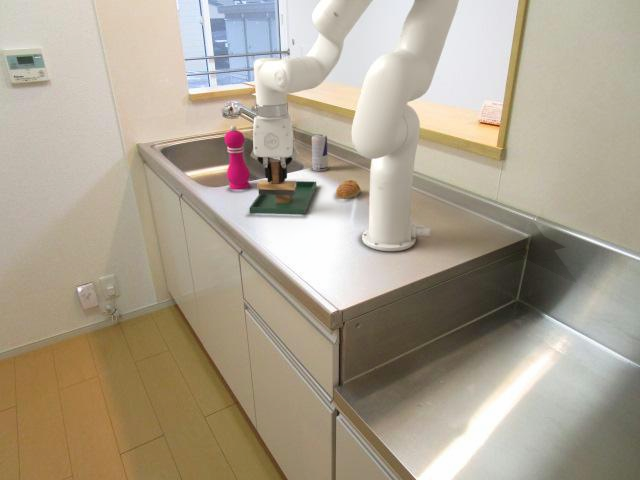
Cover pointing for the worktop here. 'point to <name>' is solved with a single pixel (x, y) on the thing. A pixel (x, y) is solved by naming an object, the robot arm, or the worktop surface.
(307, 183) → the tray
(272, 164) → the brush
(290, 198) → the wooden cube
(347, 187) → the pastry
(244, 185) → the pepper mill
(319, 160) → the energy drink
